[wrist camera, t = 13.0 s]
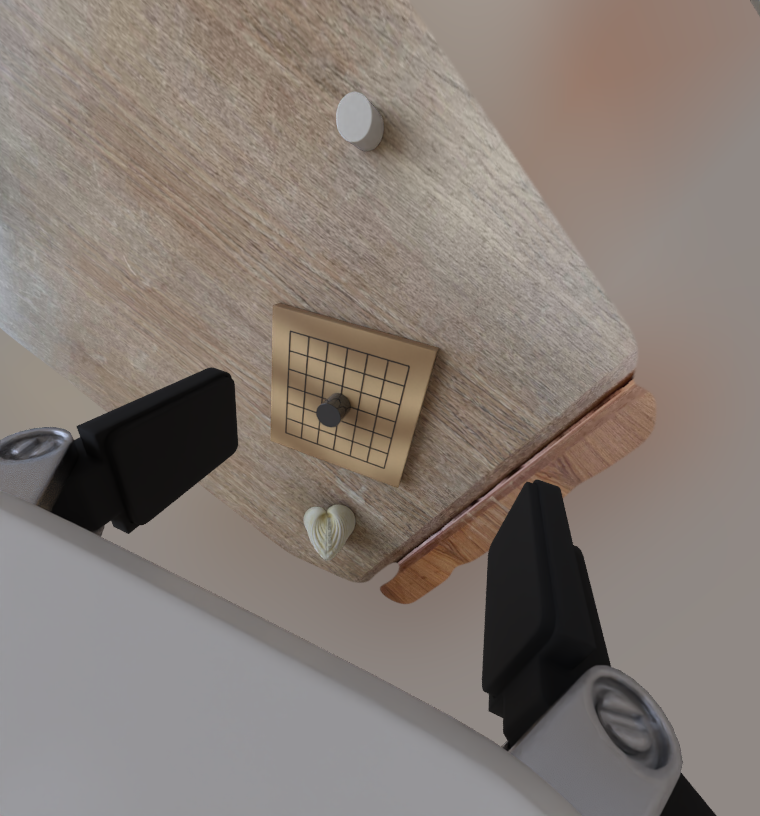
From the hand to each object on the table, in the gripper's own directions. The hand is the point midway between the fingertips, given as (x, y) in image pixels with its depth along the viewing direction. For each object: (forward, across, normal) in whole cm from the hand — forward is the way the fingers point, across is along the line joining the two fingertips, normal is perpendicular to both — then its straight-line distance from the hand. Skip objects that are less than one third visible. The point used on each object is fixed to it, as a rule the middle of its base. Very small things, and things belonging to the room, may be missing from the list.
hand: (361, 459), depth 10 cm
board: (+27, +11, +15) cm, 33 cm away
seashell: (+27, +10, +37) cm, 47 cm away
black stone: (+26, +11, +15) cm, 32 cm away
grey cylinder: (+28, +12, -12) cm, 33 cm away
